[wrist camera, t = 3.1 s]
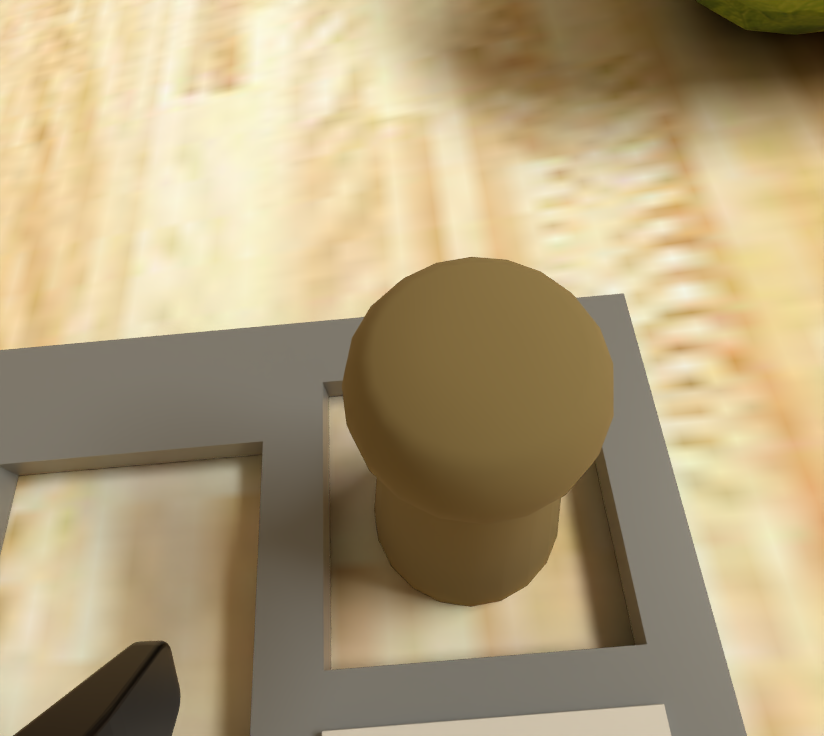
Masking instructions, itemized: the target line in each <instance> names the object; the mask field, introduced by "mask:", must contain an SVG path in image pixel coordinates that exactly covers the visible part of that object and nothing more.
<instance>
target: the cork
mask: <svg viewBox="0 0 824 736" xmlns="http://www.w3.org/2000/svg"><path fill="white" fill-rule="evenodd" d="M342 392H343V400H344V408H345V415H346V423H347V426H348V429H349V431H350V433H351V435H352V437H353V439H354V441H355V443H356V445H357V447H358V449H359V451H360V453H361V455H362V457H363V459H364V461H365V463H366V465H367V467H368V469H369V471H370V472H371V473H372V474H373V475H375V476H376V477H377V480H376V494H375V508H374V512H375V519H376V526H377V533H378V540H379V542H380V544H381V546H382V548H383V550H384V552H385V554H386V556H387V558H388V560H389V562H390V564H391V566H392V567H393V568H394V569H395V570H396V571H397V572H398V573H399V574H400V575H401V576H402V577H403V578H404V579H405V580H406V581H407V582H408V583H409V584H410V586H411V587H412V588H414V589H416V590H418V591H420V592H422V593H424V594H426V595H428V596H430V597H432V598H434V599H436V600H437V601H439V602H444V603H451V604H458V605H465V606H476V605H481V604H486V603H492V602H497V601H501V600H503V599H505V598H507V597H508V596H510V595H512V594H513V593H515V592H517V591H519V590H520V589H522V588H524V587H525V586H527V585H528V584H529V583H530V582H531V580H532V579H533V578H534V577H535V576H536V575H537V573H538V572H539V571H540V570H541V569H542V568H543V566H544V565H545V564H546V563H547V560H548V558H549V555H550V553H551V550H552V547H553V545H554V542H555V539H556V537H557V532H558V521H559V511H560V501H561V497H563V496H565V495H566V494H567V492H568V491H569V490H570V489H571V488H572V487H573V486H574V484H575V483H576V482H577V481H578V480H579V479H580V478H581V476H582V475H583V474H584V473H585V472H586V471H587V470H588V468H589V467H590V466H591V465H592V464H593V462H594V461H595V460H596V458H597V457H598V455H599V454H600V451H601V448H602V446H603V443H604V440H605V438H606V435H607V432H608V430H609V427H610V424H611V422H612V419H613V416H614V376H613V362H612V359H611V356H610V354H609V351H608V348H607V345H606V343H605V340H604V337H603V334H602V332H601V329H600V327H599V326H598V325H597V323H596V322H595V321H594V320H593V318H592V317H591V316H590V315H589V313H588V312H587V311H586V310H585V308H584V307H583V306H582V305H581V303H580V302H579V301H578V300H577V298H576V297H575V296H574V295H573V294H572V293H570V292H569V291H568V290H566V289H565V288H564V287H562V286H561V285H559V284H558V283H556V282H555V281H553V280H552V279H551V278H549V277H548V276H546V275H545V274H543V273H542V272H540V271H537V270H534V269H532V268H529V267H526V266H523V265H520V264H517V263H514V262H512V261H509V260H502V259H490V258H478V257H468V258H463V259H457V260H451V261H445V262H439V263H436V264H433V265H431V266H429V267H427V268H425V269H423V270H420V271H418V272H416V273H414V274H412V275H410V276H407V277H405V278H404V279H403V280H401V281H400V282H399V283H397V284H396V285H395V286H394V287H393V288H392V289H391V290H389V291H388V292H387V293H386V294H385V295H384V296H382V297H381V298H380V299H379V300H378V301H377V302H376V303H374V304H373V305H372V306H371V307H370V309H369V310H368V312H367V314H366V315H365V317H364V319H363V320H362V322H361V324H360V325H359V327H358V328H357V330H356V332H355V333H354V335H353V337H352V340H351V344H350V349H349V353H348V358H347V362H346V367H345V372H344V377H343V382H342Z"/></svg>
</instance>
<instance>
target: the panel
mask: <svg viewBox="0 0 824 736" xmlns="http://www.w3.org/2000/svg"><path fill="white" fill-rule="evenodd" d="M577 300H578V301H579V302H580V303H581V305H582V306H583V307H584V308H585V310H586V311H587V312H588V313H589V315H590V316H591V317H592V318H593V320H594V321H595V322H596V323H597V325H598V326H599V327H600V329H601V332H602V334H603V337H604V340H605V343H606V345H607V348H608V351H609V354H610V356H611V359H612V362H613V376H614V416H613V419H612V422H611V424H610V427H609V430H608V432H607V435H606V438H605V440H604V443H603V446H602V448H601V451H600V454H599V455H598V457H597V458H596V460H595V464H596V469H597V473H598V478H599V482H600V487H601V491H602V496H603V501H604V505H605V510H606V514H607V519H608V523H609V528H610V533H611V537H612V542H613V546H614V551H615V555H616V560H617V564H618V569H619V574H620V578H621V583H622V587H623V592H624V596H625V601H626V606H627V610H628V615H629V619H630V624H631V628H632V633H633V638H634V642H635V645H633V646H620V647H608V648H596V649H584V650H571V651H559V652H547V653H534V654H522V655H510V656H497V657H485V658H473V659H460V660H448V661H436V662H423V663H411V664H399V665H387V666H374V667H362V668H350V669H337V670H331V599H330V490H329V397H330V396H341V395H343V392H342V382H343V377H344V372H345V367H346V362H347V358H348V353H349V349H350V344H351V340H352V337H353V335H354V333H355V332H356V330H357V328H358V327H359V325H360V324H361V322H362V320H363V319H364V317H361V318H350V319H339V320H328V321H317V322H306V323H295V324H284V325H273V326H262V327H251V328H240V329H229V330H218V331H207V332H196V333H185V334H174V335H163V336H152V337H141V338H130V339H119V340H108V341H97V342H86V343H75V344H64V345H53V346H42V347H31V348H20V349H9V350H0V553H1V549H2V545H3V541H4V536H5V532H6V528H7V523H8V519H9V515H10V511H11V506H12V502H13V498H14V493H15V489H16V485H17V481H18V476H20V475H31V474H43V473H54V472H66V471H77V470H89V469H100V468H112V467H123V466H134V465H146V464H157V463H169V462H180V461H192V460H203V459H215V458H226V457H237V456H249V455H260V454H262V475H261V497H260V520H259V543H258V566H257V589H256V612H255V634H254V657H253V680H252V703H251V726H250V736H747V734H746V731H745V727H744V724H743V720H742V717H741V713H740V709H739V706H738V702H737V699H736V695H735V691H734V688H733V684H732V681H731V677H730V673H729V670H728V666H727V663H726V659H725V656H724V652H723V648H722V645H721V641H720V638H719V634H718V630H717V627H716V623H715V620H714V616H713V612H712V609H711V605H710V602H709V598H708V595H707V591H706V587H705V584H704V580H703V577H702V573H701V569H700V566H699V562H698V559H697V555H696V551H695V548H694V544H693V541H692V537H691V534H690V530H689V526H688V523H687V519H686V516H685V512H684V508H683V505H682V501H681V498H680V494H679V490H678V487H677V483H676V480H675V476H674V473H673V469H672V465H671V462H670V458H669V455H668V451H667V447H666V444H665V440H664V437H663V433H662V429H661V426H660V422H659V419H658V415H657V411H656V408H655V404H654V401H653V397H652V394H651V390H650V386H649V383H648V379H647V376H646V372H645V368H644V365H643V361H642V358H641V354H640V350H639V347H638V343H637V340H636V336H635V333H634V329H633V325H632V322H631V318H630V315H629V311H628V307H627V304H626V300H625V297H624V294H614V295H603V296H592V297H581V298H577Z"/></svg>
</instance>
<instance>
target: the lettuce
mask: <svg viewBox="0 0 824 736" xmlns="http://www.w3.org/2000/svg"><path fill="white" fill-rule="evenodd" d="M696 1H697V2H698V3H700V4H702V5H703V6H705V7H707V8H709V9H710V10H712V11H714V12H715V13H717V14H719V15H721V16H722V17H724V18H726V19H727V20H729V21H731V22H733V23H734V24H736V25H738V26H740V27H741V28H743V29H745V30H752V31H762V32H772V33H782V34H792V35H797V34H805V33H813V32H822V31H824V0H696Z"/></svg>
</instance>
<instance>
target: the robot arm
mask: <svg viewBox="0 0 824 736" xmlns="http://www.w3.org/2000/svg"><path fill="white" fill-rule="evenodd" d="M179 706H180V687H179V683H178V678H177V674H176V670H175V665H174V661H173V657H172V652H171V649H170V646H169V645H168V643H166V642H164V641H144V642H136V643H134V644H132V645H130V646H129V647H127V648H126V649H125V650H124V651H122V652H121V653H120V654H118V655H117V656H116V657H114V658H113V659H112V660H111V661H109V662H108V663H107V664H105V665H104V666H103V667H102V668H100V669H99V670H98V671H96V672H95V673H94V674H92V675H91V676H90V677H89V678H87V679H86V680H85V681H83V682H82V683H81V684H80V685H78V686H77V687H76V688H74V689H73V690H72V691H70V692H69V693H68V694H67V695H65V696H64V697H63V698H61V699H60V700H59V701H57V702H56V703H55V704H54V705H52V706H51V707H50V708H48V709H47V710H46V711H45V712H43V713H42V714H41V715H39V716H38V717H37V718H35V719H34V720H33V721H32V722H30V723H29V724H28V725H26V726H25V727H24V728H22V729H21V730H20V731H19V732H17V733H16V734H15V735H13V736H172V733H173V729H174V726H175V722H176V718H177V715H178V711H179Z"/></svg>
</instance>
